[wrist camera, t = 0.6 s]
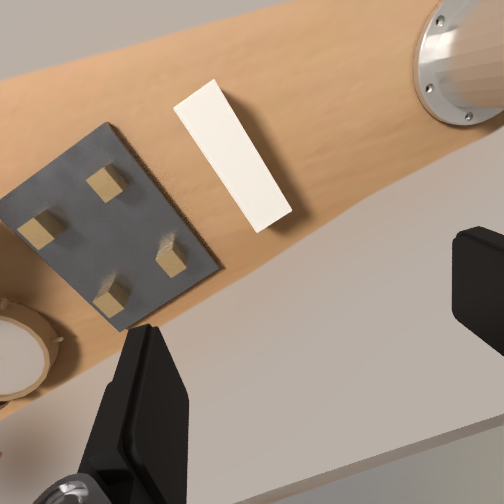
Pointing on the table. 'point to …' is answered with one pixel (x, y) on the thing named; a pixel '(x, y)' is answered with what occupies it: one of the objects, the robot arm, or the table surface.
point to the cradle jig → (107, 229)
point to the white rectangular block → (232, 155)
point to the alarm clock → (24, 350)
